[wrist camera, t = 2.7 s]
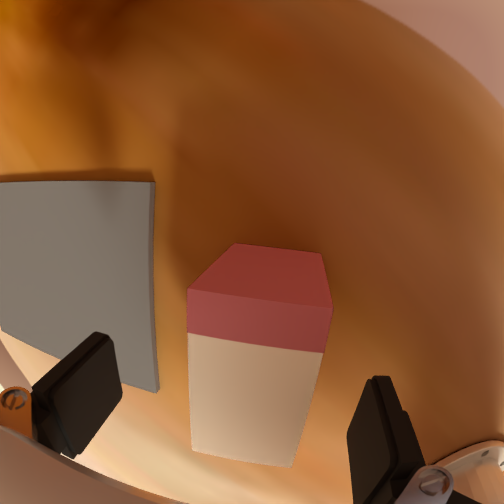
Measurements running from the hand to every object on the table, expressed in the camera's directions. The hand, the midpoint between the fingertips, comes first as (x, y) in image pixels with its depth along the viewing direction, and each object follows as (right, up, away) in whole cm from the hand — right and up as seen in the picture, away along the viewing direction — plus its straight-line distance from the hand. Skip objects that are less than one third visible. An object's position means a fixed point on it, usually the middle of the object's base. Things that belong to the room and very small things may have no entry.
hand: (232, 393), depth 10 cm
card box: (+2, +1, +7) cm, 7 cm away
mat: (-14, +3, +9) cm, 17 cm away
